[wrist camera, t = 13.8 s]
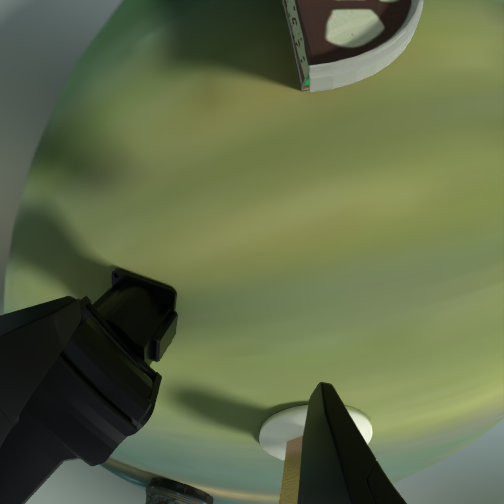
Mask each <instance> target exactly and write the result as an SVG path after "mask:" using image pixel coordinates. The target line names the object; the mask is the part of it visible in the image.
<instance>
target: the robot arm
mask: <svg viewBox="0 0 504 504" xmlns="http://www.w3.org/2000/svg"><path fill="white" fill-rule="evenodd" d="M116 273H117V274H118V275H117V274H116ZM169 293H171V294H172V295H170V294H169ZM176 298H177V292H176V291H175V290H174V289H173V288H170V287H167V286H165V285H162V284H159V283H156V282H153V281H150V280H147V279H145V278H142V277H139V276H136V275H133V274H131V273H128V272H125V271H123V270H120V269H115V270H114V271H113V272H112V287H111V288H110V289H109V290H108V291H107V292H106V293H105V294H104V295H102V296H101V297H100V298H99V299H98V300H97V301H96V302H95V303H94V304H93V305H92V304H91V303H90V300H89V298H88V297H87V296H85V297H84V298H83V299H81V300H79V299H78V300H77V299H75V298H73V297H71V296H66V297H63V298H59V299H56V300H52V301H49V302H45V303H42V304H39V305H35V306H32V307H28V308H25V309H21V310H18V311H14V312H11V313H7V314H4V315H1V316H0V504H25V503H26V502H27V501H28V499H29V498H30V497H31V496H32V495H33V494H34V493H35V492H36V491H37V490H38V489H39V488H40V486H41V485H42V484H43V483H44V482H45V481H46V480H47V479H48V478H49V477H50V475H52V473H53V472H54V471H55V470H56V469H57V468H58V467H59V466H60V465H61V464H62V463H63V462H64V461H69V460H76V459H82V460H83V461H84V462H86V463H87V464H89V465H90V466H95V465H98V464H101V463H104V462H105V461H106V460H107V459H108V458H109V456H110V455H111V454H112V453H113V451H114V450H115V449H116V448H117V446H118V445H119V444H120V443H121V442H122V441H123V440H124V439H125V438H126V437H128V436H131V435H133V434H135V433H136V432H138V431H139V430H140V429H141V428H142V427H143V426H144V425H145V424H146V423H147V421H148V420H149V418H150V417H151V415H152V413H153V410H154V407H155V403H156V399H157V395H158V391H159V387H160V383H161V379H162V376H161V375H160V374H159V373H158V372H155V371H154V370H153V369H152V368H151V367H150V364H151V363H152V361H155V362H158V361H160V359H161V358H162V356H163V354H164V353H165V351H166V349H167V348H168V346H169V345H170V344H171V342H172V339H173V338H174V336H175V334H176V325H177V316H178V314H177V312H175V307H176ZM297 504H407V503H406V502H405V501H404V499H403V498H402V497H401V495H400V494H399V493H398V492H397V490H396V489H395V487H394V486H393V485H392V483H391V482H390V480H389V479H388V477H387V476H386V474H385V473H384V471H383V470H382V468H381V466H380V465H379V463H378V461H376V458H375V456H374V455H373V453H372V451H371V449H370V448H369V446H368V444H367V443H366V441H365V439H364V438H363V436H362V434H361V433H360V431H359V429H358V427H357V426H356V424H355V422H354V421H353V419H352V417H351V416H350V414H349V412H348V411H347V409H346V407H345V405H344V404H343V402H342V400H341V399H340V397H339V395H338V394H337V392H336V390H335V389H334V387H333V385H332V384H330V383H325V382H320V383H319V384H318V385H317V387H316V388H315V390H314V392H313V393H312V395H311V396H310V399H309V403H308V409H307V415H306V421H305V427H304V432H303V438H302V451H301V465H300V478H299V490H298V500H297Z"/></svg>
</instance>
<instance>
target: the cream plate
mask: <svg viewBox="0 0 504 504" xmlns="http://www.w3.org/2000/svg"><path fill="white" fill-rule="evenodd" d="M345 407H346V409H347V411H348V412H349V414H350V416H351V417H352V419H353V421H354V422H355V424H356V426H357V427H358V429H359V431H360V433H361V434H362V436H363V438H364V439H365V441H366V443H367V444H368V443H369V442H370V440H371V438H372V426H371V421H370V419H369V418H368V416H367V415H366V414H365V413H363V412H361V411H360V410H358V409H355V408H352V407H349V406H345ZM307 409H308V405H302V406H296V407H292V408H289V409H285V410H283V411H280V412H278V413H276V414H274V415H272V416H271V417H269V418H268V419H267V420H266V421H265V422H264V423H263V424H262V426H261V430H260V435H259V443H260V445H261V447H262V448H263V449H264V450H265V451H266V452H267V453H269V454H270V455H272V456H274V457H276V458H279V459H282V460H285V453H286V444H287V441H289V440H292V439H295V438H297V437H300V436H303V432H304V427H305V421H306V415H307Z"/></svg>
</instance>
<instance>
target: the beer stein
mask: <svg viewBox="0 0 504 504" xmlns="http://www.w3.org/2000/svg"><path fill="white" fill-rule="evenodd" d="M146 504H213V498H212V497H211V496H210V495H209V494H207V493H205V492H203V491H202V490H199V489H197V488H194V487H191V486H189V485H186V484H183V483H179V482H176V481H173V480H169V479H164V478H153V479H152V480H151V482H150V484H149V485H148V486H147V487H146Z"/></svg>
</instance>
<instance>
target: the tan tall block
mask: <svg viewBox="0 0 504 504" xmlns="http://www.w3.org/2000/svg"><path fill="white" fill-rule="evenodd" d="M302 438H303V436H300V437H297V438H295V439H292V440H289V441H287V444H286V453H285V462H284V470H283V478H282V485H281V493H280V500H279V504H297V500H298V490H299V478H300V465H301V451H302Z"/></svg>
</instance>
